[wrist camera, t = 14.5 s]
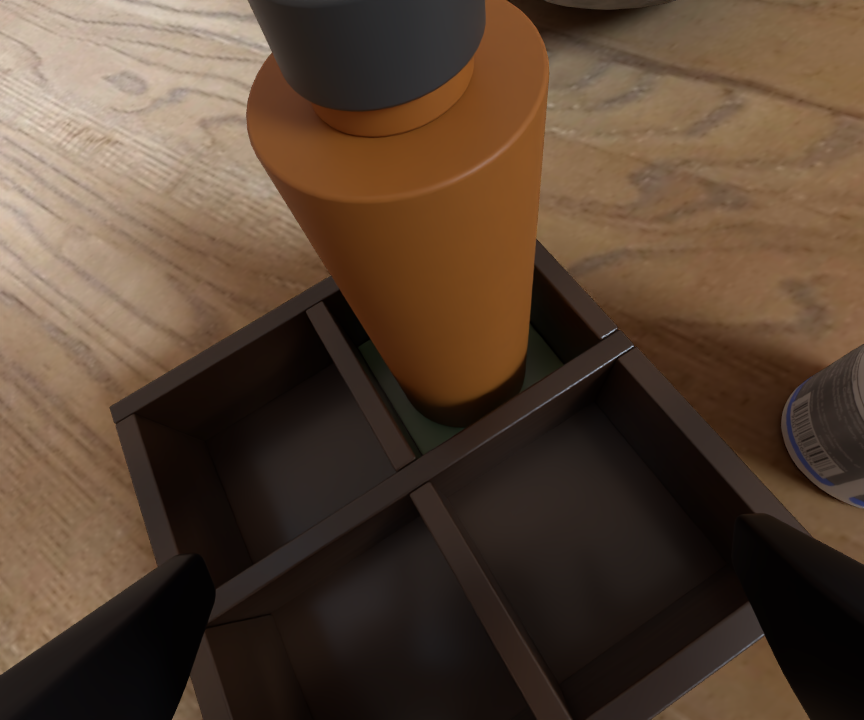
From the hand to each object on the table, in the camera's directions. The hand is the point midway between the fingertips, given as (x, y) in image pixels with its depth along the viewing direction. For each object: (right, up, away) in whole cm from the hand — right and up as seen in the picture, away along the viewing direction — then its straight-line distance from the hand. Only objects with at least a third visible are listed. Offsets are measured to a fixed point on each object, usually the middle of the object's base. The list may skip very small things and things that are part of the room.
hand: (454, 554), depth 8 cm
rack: (0, -2, +9) cm, 9 cm away
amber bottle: (+1, +3, +10) cm, 11 cm away
